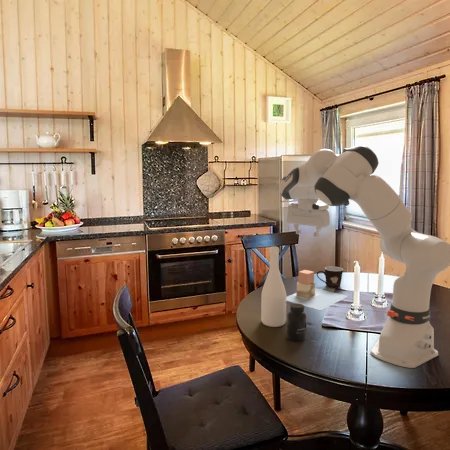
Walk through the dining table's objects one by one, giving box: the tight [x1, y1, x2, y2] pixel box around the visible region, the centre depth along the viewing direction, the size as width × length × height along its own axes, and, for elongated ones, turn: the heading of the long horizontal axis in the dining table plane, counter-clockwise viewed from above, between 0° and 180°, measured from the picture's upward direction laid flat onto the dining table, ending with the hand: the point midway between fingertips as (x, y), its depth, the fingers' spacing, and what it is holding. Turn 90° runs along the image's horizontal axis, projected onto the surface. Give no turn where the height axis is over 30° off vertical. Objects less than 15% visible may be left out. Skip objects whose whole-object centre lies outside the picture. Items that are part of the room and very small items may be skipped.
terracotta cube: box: [297, 269, 315, 285], centre depth 182 cm, size 5×5×5 cm
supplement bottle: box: [286, 303, 308, 342], centre depth 141 cm, size 7×7×12 cm
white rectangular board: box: [286, 287, 349, 311], centre depth 180 cm, size 24×20×1 cm
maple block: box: [296, 281, 316, 298], centre depth 182 cm, size 6×6×6 cm
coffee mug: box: [316, 265, 344, 289], centre depth 196 cm, size 12×9×10 cm
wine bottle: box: [260, 245, 287, 328], centre depth 153 cm, size 10×10×30 cm
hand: (307, 235), depth 179 cm, fingers open, 8 cm apart
